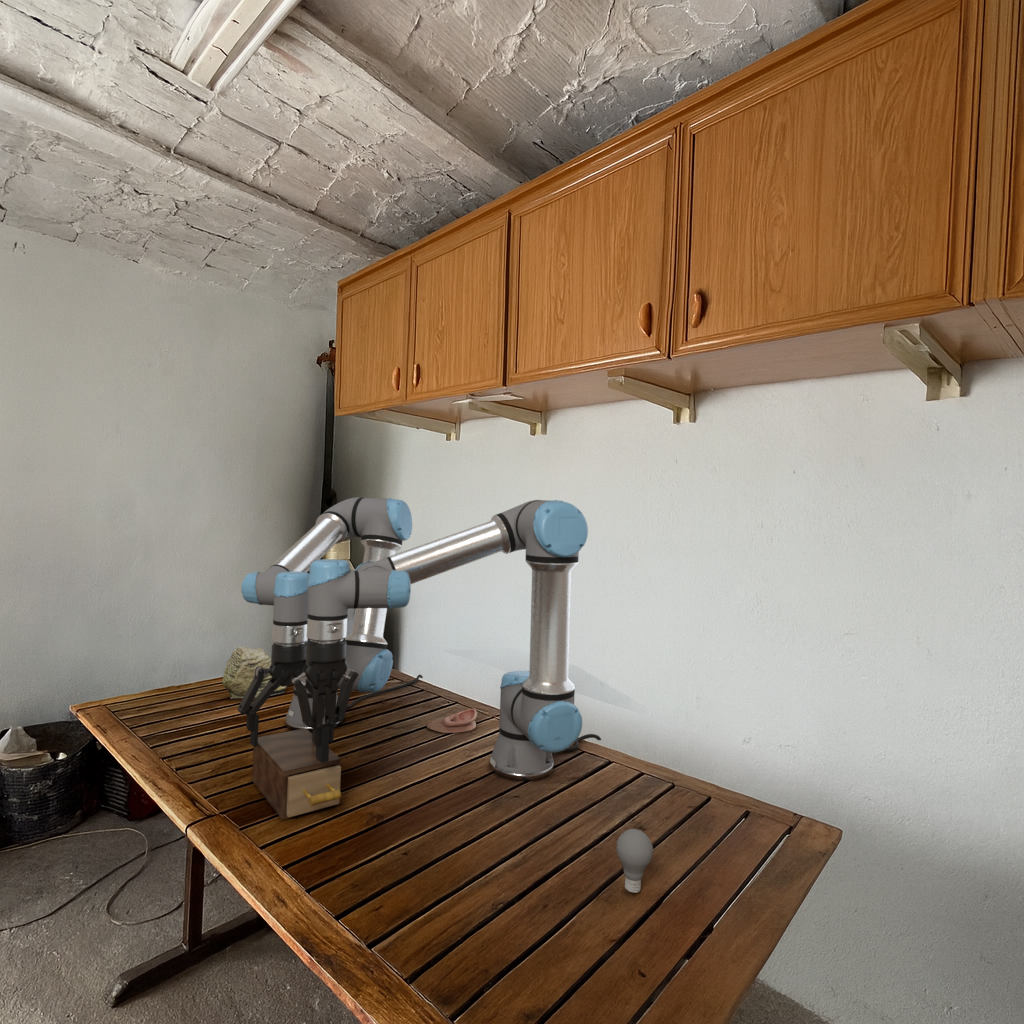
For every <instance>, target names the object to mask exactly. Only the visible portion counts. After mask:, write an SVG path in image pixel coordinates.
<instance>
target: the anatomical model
mask: <svg viewBox="0 0 1024 1024" xmlns="http://www.w3.org/2000/svg"><path fill="white" fill-rule="evenodd" d="M477 717H478V711H477V709H475V708H470V709H469V708H468V709H465V710H462V711H458V712H455V713H453V714H450V715H448V716H445V717H441V718H437V719H434V720H433V721H430V722H429V723H428V724H427V725H426V728H427V729H429V730H432V731H434V732H438V733H443V734H455V733H456V734H457V733H464V732H465V733H466V732H470V731H473V730H474V729H476V727H477V723H476V719H477Z"/></svg>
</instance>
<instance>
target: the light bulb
mask: <svg viewBox="0 0 1024 1024" xmlns="http://www.w3.org/2000/svg"><path fill="white" fill-rule="evenodd" d="M615 849H616V854H617V857H618V859H619V861H620V863H621V865H622V867H623V873H624V874H623V875H624V876H625V878H624V888H625V890H627V891H628V892H630V893H634V894H635V893H639V892H640V891H641V889H642V887H641V886H642V879H643V877H644V875H645V871H646V868H647V867H648V866H649V864H650V863H651V861H652V859H653V855H654V847H653V843H652V841H651V838H649V836H648V835H647V834H646V833H645V832H643V831H642V830H641V829H636V828H629V829H627V830H625V831H623V832H622V833H621V834H620V835H619V837H618V839H617V841H616V847H615Z"/></svg>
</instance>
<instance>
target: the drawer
mask: <svg viewBox="0 0 1024 1024" xmlns="http://www.w3.org/2000/svg"><path fill="white" fill-rule="evenodd" d="M341 774H342V767H341V765H340V766H339V765H337V766H333V767H331V766H327V767H323V768H319V769H314V770H310V771H306V772H301V773H297V774H293V775H289V777H288V791H287V816H288V817H291V818H293V817H292V816H295V817H297V816H296V815H298V816H300V815H299V814H302V815H304V814H303V813H305V814H308V813H307V812H309V813H311V812H310V811H313V812H315V811H314V810H316V811H319V810H318V809H320V810H322V809H321V808H324V809H326V808H325V807H327V808H330V807H329V806H331V807H333V806H332V805H335V806H337V805H336V804H338V805H339V804H340V801H341V797H342V792H341V779H342V778H341V776H342V775H341Z"/></svg>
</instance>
